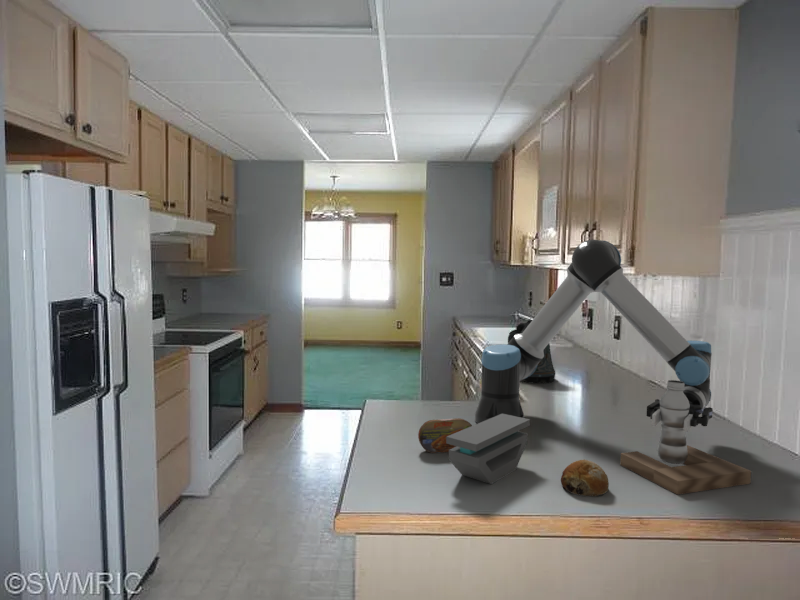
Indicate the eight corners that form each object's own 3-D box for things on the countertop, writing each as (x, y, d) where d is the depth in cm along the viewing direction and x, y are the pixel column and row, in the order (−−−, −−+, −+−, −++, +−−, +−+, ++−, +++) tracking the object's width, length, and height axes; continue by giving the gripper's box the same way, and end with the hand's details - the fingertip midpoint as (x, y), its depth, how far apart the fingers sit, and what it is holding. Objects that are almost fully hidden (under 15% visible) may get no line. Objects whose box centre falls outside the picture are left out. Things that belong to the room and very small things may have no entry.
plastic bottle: (689, 469, 131) (693, 386, 129) (657, 465, 133) (662, 383, 132) (685, 459, 137) (689, 380, 135) (655, 456, 139) (659, 377, 138)
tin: (419, 454, 143) (420, 422, 143) (416, 449, 146) (417, 418, 146) (475, 450, 146) (475, 419, 146) (471, 446, 149) (471, 416, 149)
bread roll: (610, 512, 120) (625, 478, 120) (574, 497, 117) (589, 462, 117) (582, 493, 129) (596, 461, 129) (548, 479, 126) (562, 446, 126)
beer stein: (559, 383, 227) (561, 323, 225) (512, 383, 227) (514, 322, 225) (549, 375, 243) (551, 318, 242) (505, 374, 244) (506, 318, 242)
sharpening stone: (501, 454, 144) (502, 413, 143) (528, 462, 139) (530, 419, 138) (445, 484, 124) (446, 436, 124) (475, 493, 119) (476, 444, 119)
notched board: (677, 494, 120) (678, 481, 120) (620, 465, 137) (620, 453, 137) (750, 483, 127) (751, 470, 126) (687, 456, 144) (687, 445, 143)
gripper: (728, 423, 143) (715, 447, 125) (648, 410, 155) (626, 430, 136) (729, 395, 143) (716, 414, 124) (649, 384, 154) (627, 400, 136)
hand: (669, 423), depth 130 cm, fingers closed on plastic bottle, 6 cm apart
